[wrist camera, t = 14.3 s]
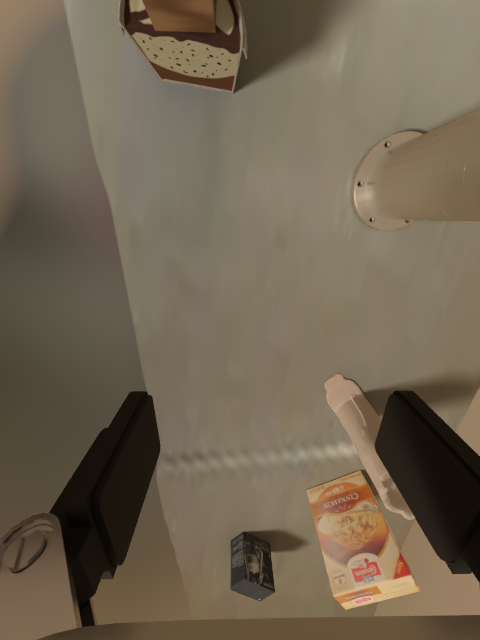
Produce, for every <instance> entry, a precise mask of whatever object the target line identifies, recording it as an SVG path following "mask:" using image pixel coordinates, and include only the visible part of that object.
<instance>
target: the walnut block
mask: <svg viewBox="0 0 480 640" xmlns="http://www.w3.org/2000/svg"><path fill="white" fill-rule="evenodd" d="M142 1H143V4H144V6H145V8H146V11H147V13H148V15H149V17H150V20H151V22H152V24H153V27H154V29H155V31H178V32H209V33H216V21H215V0H142Z"/></svg>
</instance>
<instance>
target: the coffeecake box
mask: <svg viewBox="0 0 480 640" xmlns="http://www.w3.org/2000/svg"><path fill="white" fill-rule="evenodd" d="M307 493H308V497H309V502H310V505H311V509H312V513H313V517H314V521H315V525H316V529H317V533H318V537H319V541H320V545H321V549H322V553H323V557H324V561H325V565H326V569H327V573H328V577H329V581H330V585H331V588H332V592H333V596H334V597H335V598H336V599H337V601H338V602H340V604H341V605H342V606H343V607H344V608H345V609H346V610H347V609H350V608H353V607H357V606H362V605H366V604H370V603H374V602H378V601H382V600H386V599H389V598H394V597H398V596H402V595H406V594H410V593H414V592H418V591H420V589H419V587H418V585H417V582H416V580H415V578H414V576H413V574H412V572H411V570H410V568H409V566H408V564H407V562H406V560H405V558H404V556H403V554H402V552H401V550H400V548H399V546H398V544H397V542H396V540H395V537H394V535H393V533H392V531H391V529H390V527H389V525H388V523H387V521H386V519H385V517H384V515H383V513H382V511H381V509H380V507H379V505H378V503H377V501H376V498H375V496H374V494H373V492H372V490H371V488H370V486H369V484H368V483H367V481H366V479H365V477H364V476H363V474H362V472H361V470H359V471H357V472H354V473H351V474H349V475H346V476H343V477H341V478H338V479H335V480H333V481H330V482H327V483H324V484H322V485H319V486H316V487H313V488H311V489H308V490H307Z"/></svg>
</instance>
